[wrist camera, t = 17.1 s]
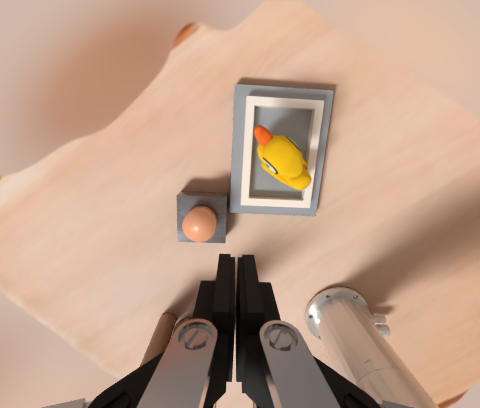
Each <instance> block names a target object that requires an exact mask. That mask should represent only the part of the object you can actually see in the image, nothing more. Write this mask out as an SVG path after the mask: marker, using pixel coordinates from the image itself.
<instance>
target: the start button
mask: <svg viewBox="0 0 480 408" xmlns="http://www.w3.org/2000/svg"><path fill="white" fill-rule="evenodd" d="M216 224H217V217H216V215H215V213H214V211H213V210H212V209H210V208H209V207H206V206H196V207H194V208H192V209H191V210H190V211H189V212H188V214H187V215H186V217H185V218H184V220H183V224H182V228H183V232H184V234H185V235H186V236H187V237H188V238H189V239H190V240H192V241H195V242H204V241H207V240H209V239H210V238H211V237H212V236H213V234H214V232H215V229H216Z"/></svg>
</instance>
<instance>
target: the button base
mask: <svg viewBox="0 0 480 408" xmlns="http://www.w3.org/2000/svg"><path fill="white" fill-rule="evenodd" d="M196 206H206V207H209V208H210V209H212V210H213V211H214V213H215V215H216V217H217V224H216V229H215V232H214V234H213V236H212V237H211V238H210V239H209V240H207V241H204V242H207V243H225V239H226V217H227V193H206V192H184V191H181V192H180V193H179V194H178V195H177V229H178V241H179V242H195V241H192V240H190V239H189V238H188V237H187V236H186V235H185V234H184V232H183V228H182V224H183V220H184V218H185V217H186V215H187V214H188V212H189V211H190V210H191V209H192V208H194V207H196Z"/></svg>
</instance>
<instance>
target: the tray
mask: <svg viewBox="0 0 480 408" xmlns="http://www.w3.org/2000/svg"><path fill="white" fill-rule="evenodd" d="M333 93H334V90H321V89H305V88H290V87H274V86H259V85H244V84H235V93H234V117H233V141H232V165H231V188H230V212H229V213H251V214H275V215H300V216H316V211H317V205H318V198H319V191H320V184H321V177H322V170H323V163H324V156H325V149H326V142H327V135H328V128H329V121H330V114H331V107H332V100H333ZM258 125H262V126H263V127H265V128H266V129H267V130H268V131H269V132H270V133H271V134H272V135H276V136H286V137H289V138H290V139H292V140H293V141H294V142H295V143H296V144H297V145H298V146H299V148H300V150H301V152H302V156H303V159H304V160H305V162H306V163H307V165H308V168H305V169H306V170H307V172H308V173H309V174H310V175H311V178H312V180H311V183H310V185H309V186H308V187H307V188H305V189H304V190H297V189H294V188H292V187H290V186H288V185H287V184H284V183H282V182H280V181H279V180H278V179H276V178H275V177H273V176H272V175H270V174H269V173H268V172H266V171H265V170H264V169H263V168H262V166H261V162H262V161H261V160H260V158H259V156H258V153H257V147H258V145H259V142H258V141H257V139H256V137H255V134H254V129H255V127H256V126H258Z"/></svg>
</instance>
